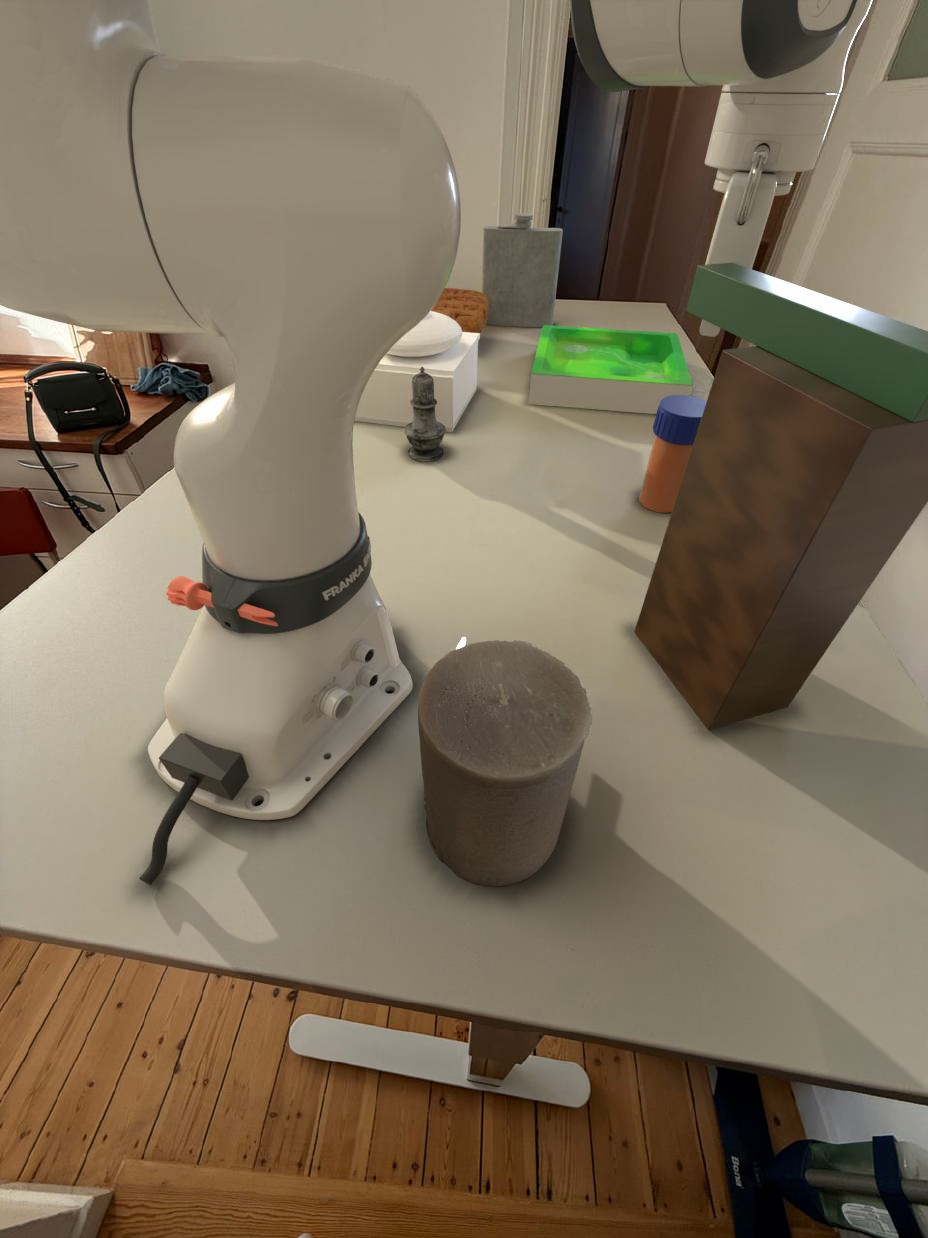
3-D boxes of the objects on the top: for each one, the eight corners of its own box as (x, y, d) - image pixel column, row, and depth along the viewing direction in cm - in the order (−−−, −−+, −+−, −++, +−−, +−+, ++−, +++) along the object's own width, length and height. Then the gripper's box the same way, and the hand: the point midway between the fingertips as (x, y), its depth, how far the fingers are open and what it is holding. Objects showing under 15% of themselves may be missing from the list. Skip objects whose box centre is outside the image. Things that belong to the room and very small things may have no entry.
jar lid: (704, 449, 62) (714, 421, 59) (648, 439, 63) (655, 411, 61) (709, 426, 66) (718, 399, 63) (656, 418, 67) (663, 391, 65)
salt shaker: (441, 464, 77) (439, 376, 69) (400, 460, 78) (393, 372, 70) (450, 445, 81) (449, 360, 73) (411, 441, 82) (406, 356, 74)
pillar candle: (411, 872, 37) (392, 748, 27) (441, 749, 44) (436, 612, 34) (556, 900, 36) (596, 782, 26) (564, 769, 43) (598, 634, 33)
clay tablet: (417, 322, 123) (415, 281, 118) (493, 327, 121) (494, 285, 115) (389, 356, 108) (385, 311, 102) (476, 363, 105) (477, 317, 100)
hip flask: (552, 322, 124) (564, 212, 110) (552, 328, 121) (564, 216, 107) (481, 319, 125) (484, 210, 111) (479, 325, 122) (482, 213, 108)
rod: (685, 311, 42) (697, 264, 40) (719, 307, 42) (732, 262, 40) (912, 422, 28) (948, 361, 26) (956, 415, 29) (996, 354, 27)
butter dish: (345, 419, 87) (328, 307, 76) (383, 377, 100) (374, 276, 89) (452, 432, 84) (452, 318, 73) (478, 387, 97) (481, 284, 86)
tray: (528, 403, 92) (531, 372, 89) (540, 352, 110) (543, 324, 106) (683, 416, 89) (692, 384, 86) (670, 361, 107) (677, 333, 103)
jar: (678, 516, 68) (708, 422, 60) (635, 507, 70) (659, 414, 61) (683, 495, 72) (712, 404, 63) (642, 487, 73) (666, 397, 65)
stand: (633, 632, 54) (722, 349, 36) (704, 615, 56) (822, 337, 38) (708, 731, 46) (872, 428, 28) (788, 707, 47) (991, 409, 29)
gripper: (810, 151, 39) (740, 358, 48) (802, 135, 52) (749, 299, 62) (715, 148, 40) (666, 348, 50) (732, 132, 54) (690, 292, 64)
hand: (712, 320), depth 56 cm, fingers open, 7 cm apart
